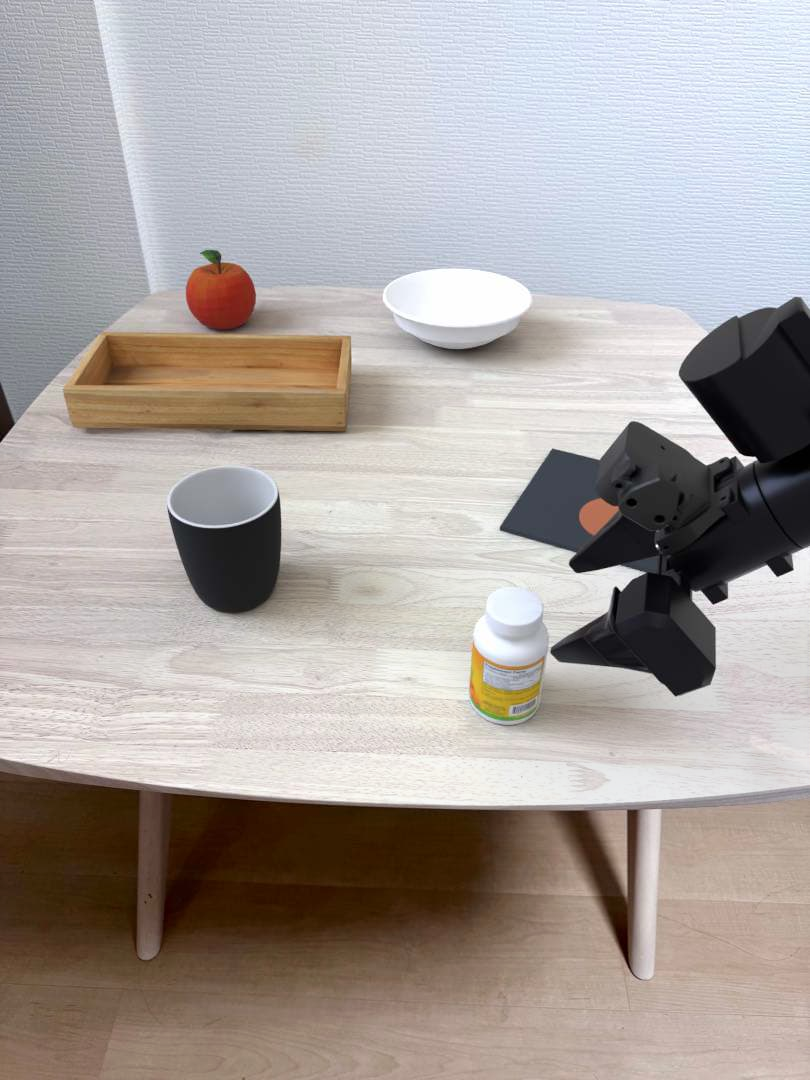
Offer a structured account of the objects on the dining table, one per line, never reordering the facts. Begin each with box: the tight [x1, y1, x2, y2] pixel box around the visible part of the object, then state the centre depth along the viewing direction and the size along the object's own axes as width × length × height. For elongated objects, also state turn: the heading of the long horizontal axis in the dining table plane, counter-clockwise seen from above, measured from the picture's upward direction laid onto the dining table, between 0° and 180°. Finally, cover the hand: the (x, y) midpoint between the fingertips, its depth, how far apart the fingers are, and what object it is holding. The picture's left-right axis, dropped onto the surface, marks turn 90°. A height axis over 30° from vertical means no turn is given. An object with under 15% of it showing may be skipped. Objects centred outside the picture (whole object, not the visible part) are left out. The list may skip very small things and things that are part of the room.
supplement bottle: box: [468, 586, 550, 726], centre depth 62 cm, size 5×5×10 cm
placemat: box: [499, 448, 659, 574], centre depth 84 cm, size 20×16×1 cm
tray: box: [62, 331, 352, 432], centre depth 100 cm, size 31×15×6 cm, turn 91°
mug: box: [166, 464, 282, 614], centre depth 72 cm, size 12×9×10 cm
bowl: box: [382, 267, 533, 350], centre depth 114 cm, size 20×20×6 cm
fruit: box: [185, 249, 257, 331], centre depth 116 cm, size 10×10×10 cm
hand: (563, 608), depth 58 cm, fingers open, 9 cm apart
